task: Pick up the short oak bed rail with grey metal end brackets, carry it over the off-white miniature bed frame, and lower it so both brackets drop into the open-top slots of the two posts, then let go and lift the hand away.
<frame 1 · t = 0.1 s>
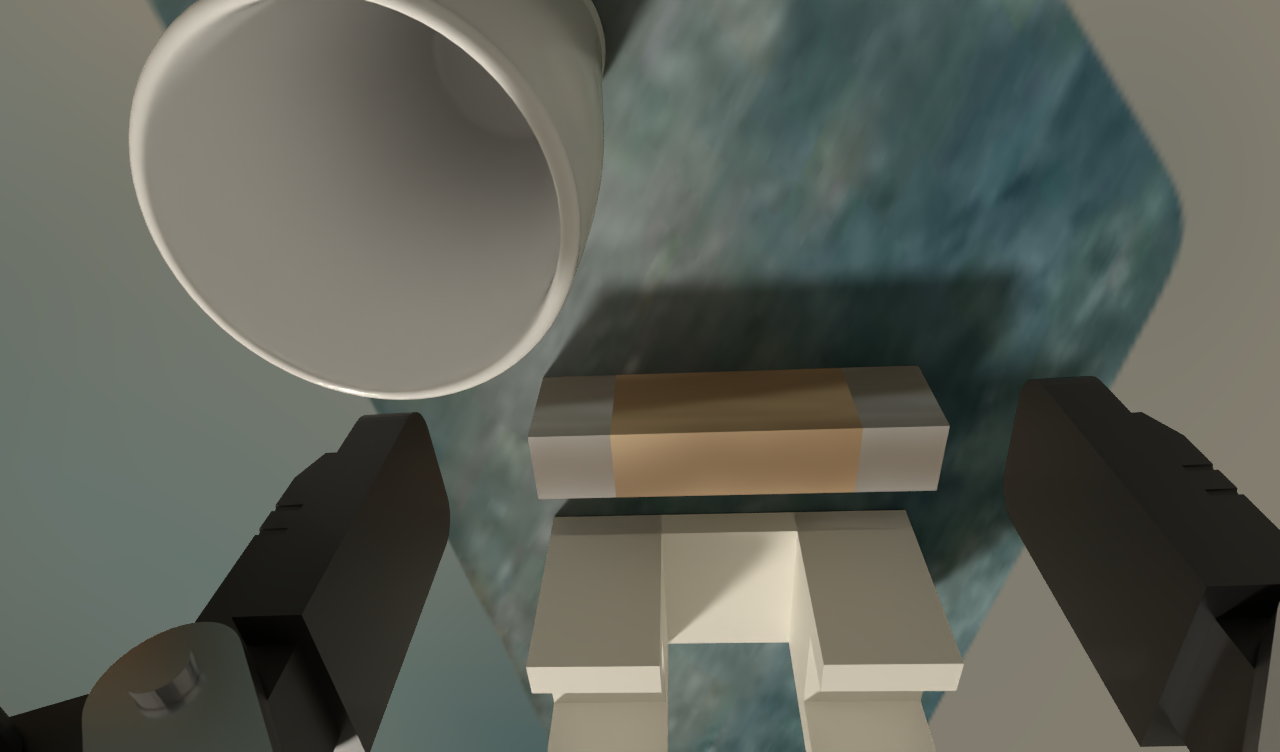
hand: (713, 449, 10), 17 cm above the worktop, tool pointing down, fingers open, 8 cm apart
rail: (727, 401, 31), on the worktop
bed frame: (726, 571, 36), on the worktop
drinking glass: (524, 44, 24), on the worktop
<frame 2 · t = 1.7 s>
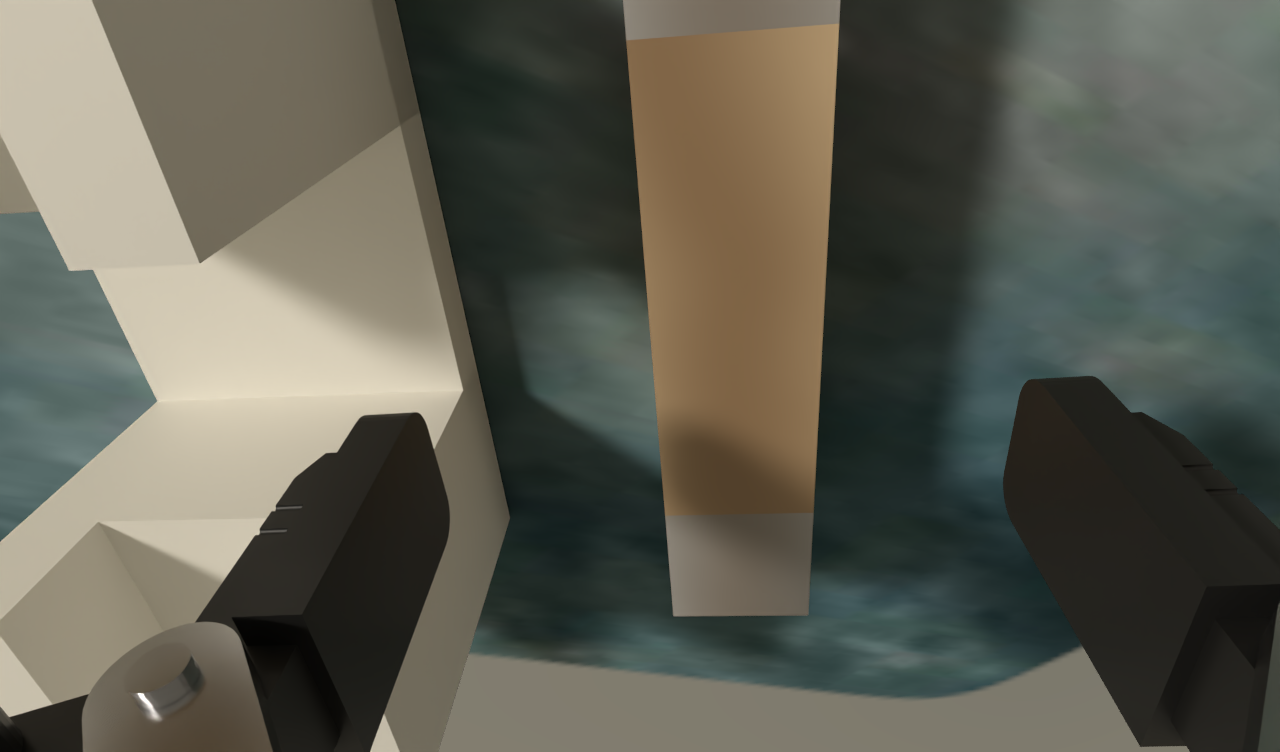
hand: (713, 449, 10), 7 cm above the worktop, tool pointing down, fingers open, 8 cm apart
rail: (726, 234, 16), on the worktop
bed frame: (290, 258, 17), on the worktop
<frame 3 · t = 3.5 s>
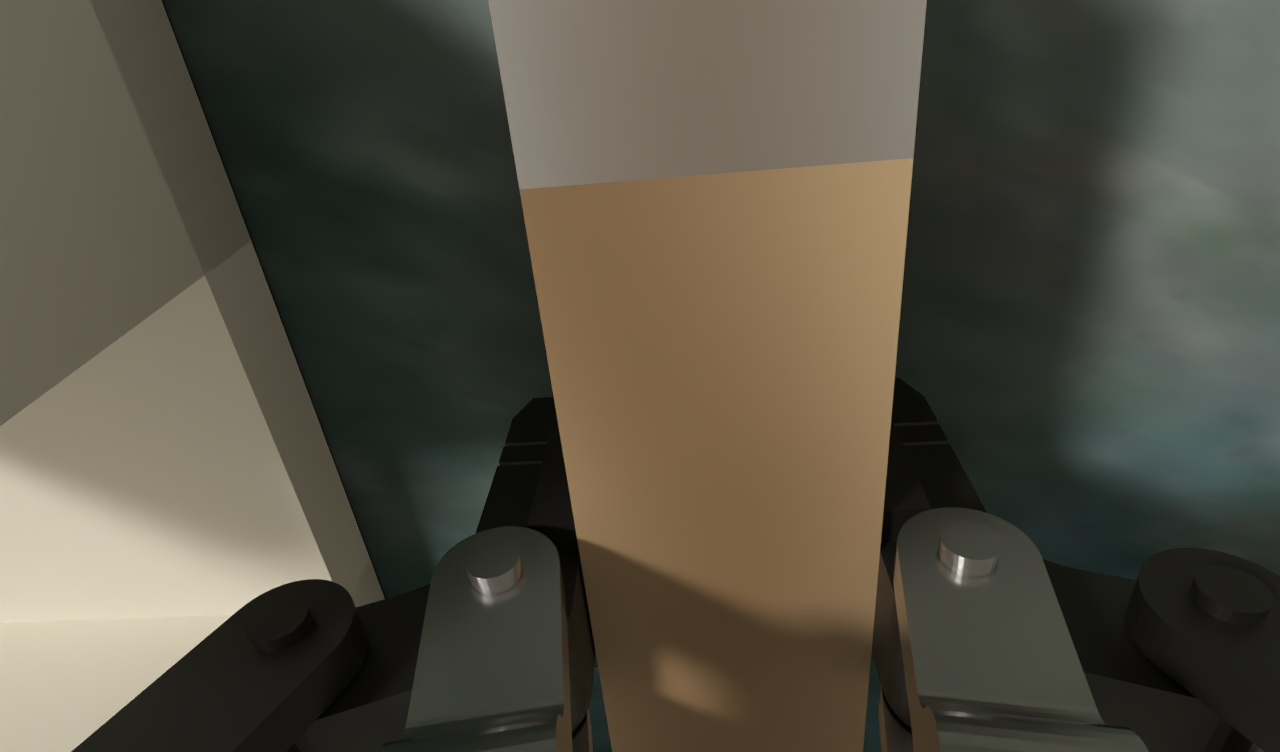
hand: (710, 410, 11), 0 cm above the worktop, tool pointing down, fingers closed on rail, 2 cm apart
rail: (711, 408, 11), on the worktop, touching gripper
bed frame: (93, 432, 12), on the worktop
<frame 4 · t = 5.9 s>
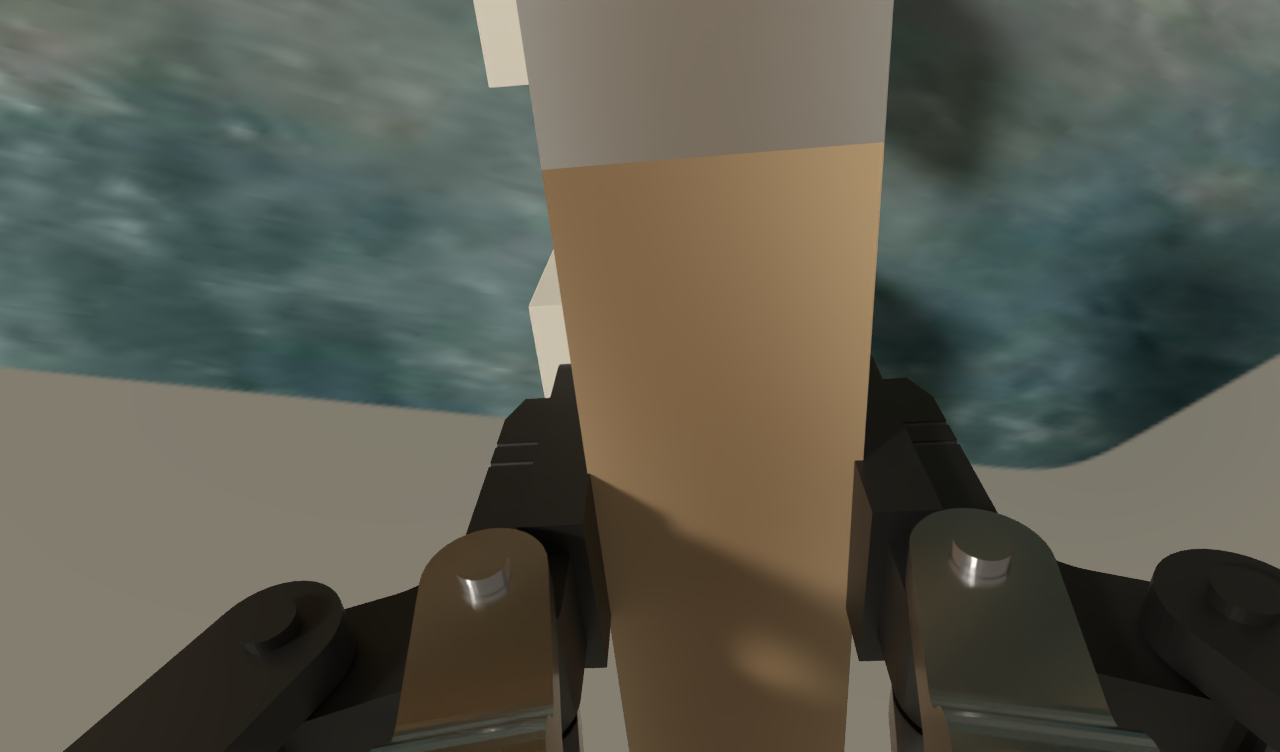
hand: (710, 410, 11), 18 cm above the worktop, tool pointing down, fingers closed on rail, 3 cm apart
rail: (711, 380, 12), point 17 cm above the worktop, touching gripper
bed frame: (662, 125, 26), on the worktop
when the fingers open (7 cm above the worktop, at t = 8.3 s): rail stays where it is, resting on bed frame.
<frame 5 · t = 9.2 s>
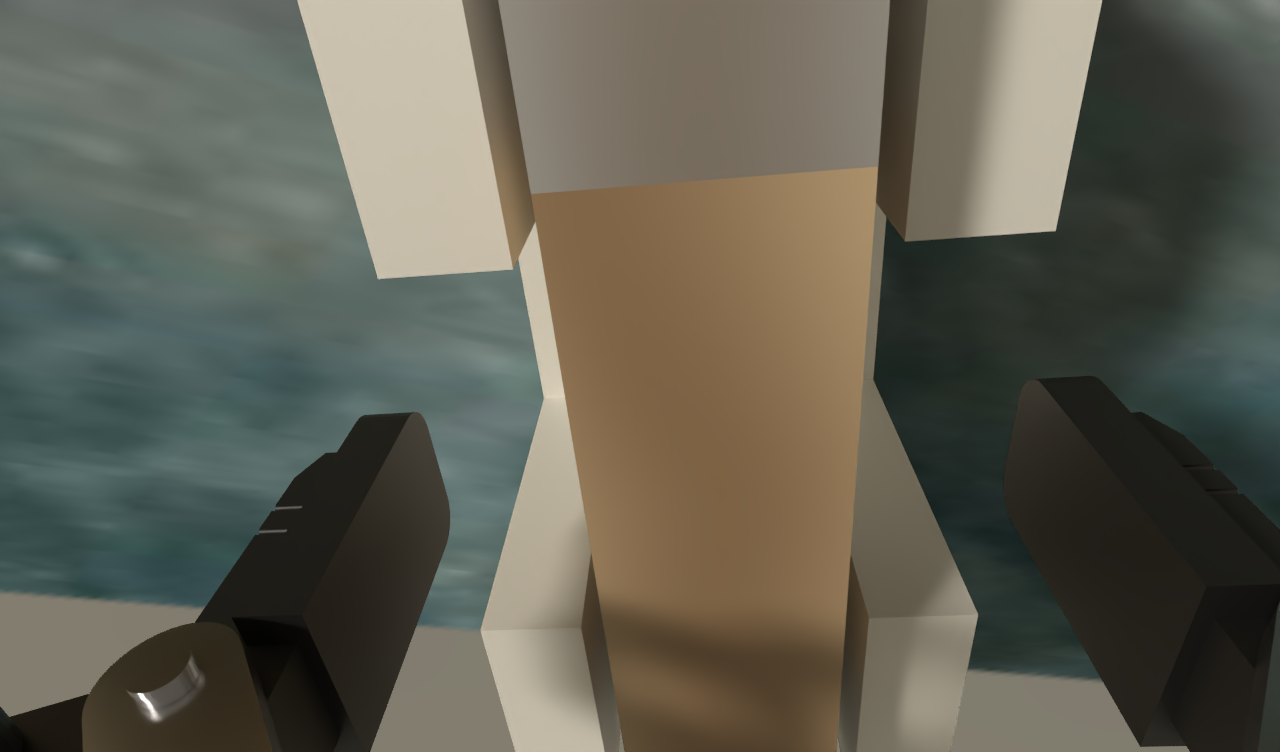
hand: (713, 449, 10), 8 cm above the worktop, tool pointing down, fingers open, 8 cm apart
rail: (706, 383, 12), point 5 cm above the worktop, touching bed frame
bed frame: (697, 247, 17), on the worktop
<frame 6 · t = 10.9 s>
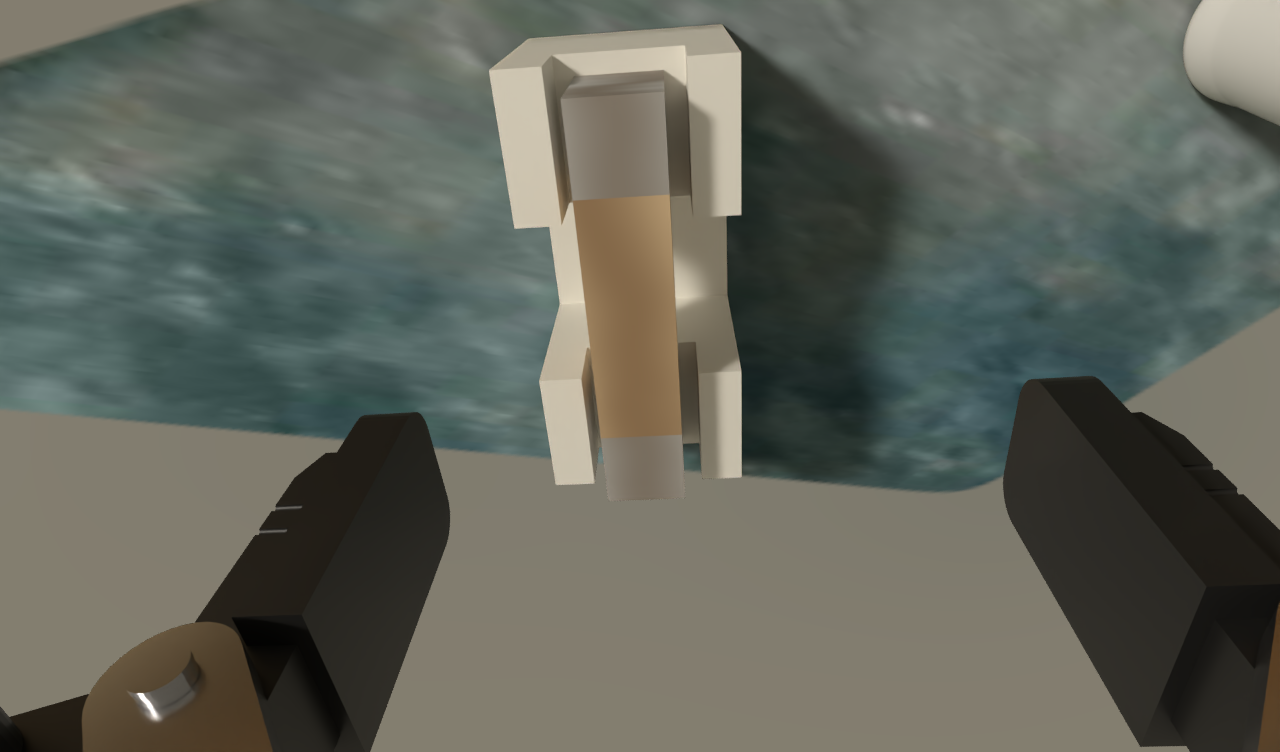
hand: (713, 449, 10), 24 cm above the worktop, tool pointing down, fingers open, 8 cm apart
rail: (635, 280, 29), point 5 cm above the worktop, touching bed frame
bed frame: (639, 227, 33), on the worktop
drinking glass: (1245, 27, 29), on the worktop
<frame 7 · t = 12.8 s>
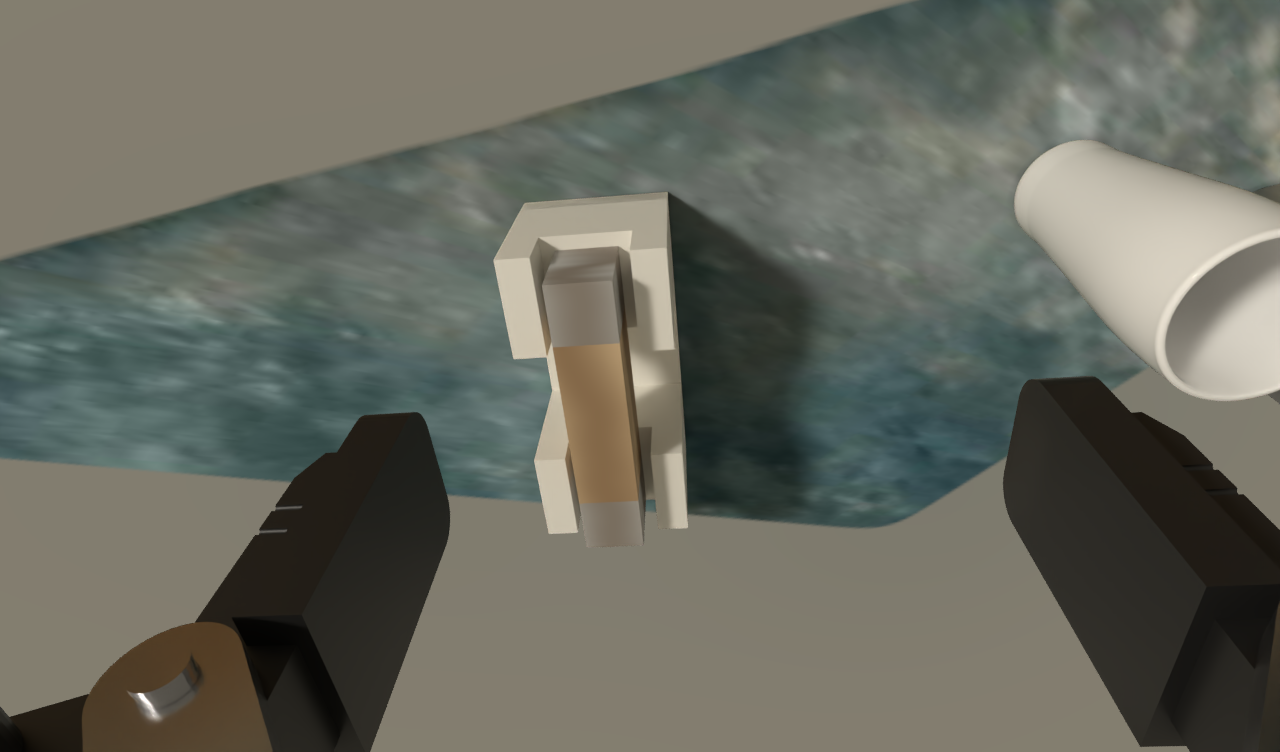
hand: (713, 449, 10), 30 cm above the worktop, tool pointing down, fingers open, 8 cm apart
rail: (604, 384, 39), point 5 cm above the worktop, touching bed frame
bed frame: (612, 332, 43), on the worktop
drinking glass: (1062, 188, 38), on the worktop
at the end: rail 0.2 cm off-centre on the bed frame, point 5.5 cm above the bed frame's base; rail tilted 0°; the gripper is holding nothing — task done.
